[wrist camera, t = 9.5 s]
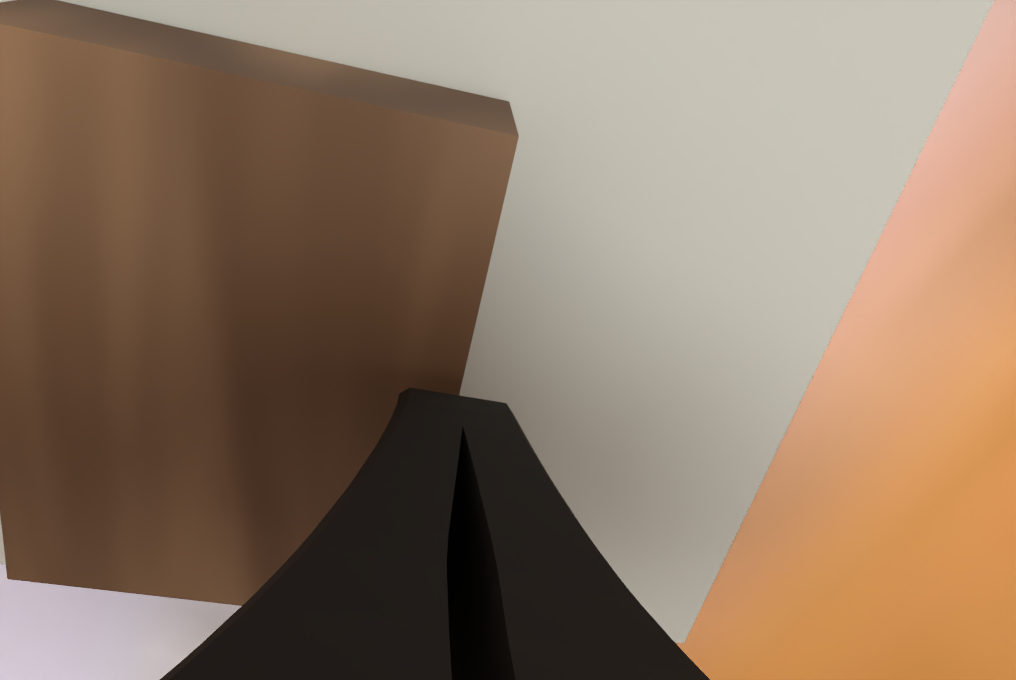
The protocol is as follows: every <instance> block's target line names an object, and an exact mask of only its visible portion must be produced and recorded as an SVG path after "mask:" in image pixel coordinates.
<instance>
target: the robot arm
mask: <svg viewBox="0 0 1016 680" xmlns="http://www.w3.org/2000/svg"><path fill="white" fill-rule="evenodd" d="M160 680H710V679H709V678H708V677H707V676H706V675H705V674H704V673H703V672H702V671H701V670H700V669H699V668H698V667H697V666H696V665H695V664H694V663H693V662H692V661H691V660H690V658H689V657H688V656H687V655H686V654H685V653H684V652H683V651H682V650H681V649H680V648H679V647H678V645H677V644H676V643H675V642H674V641H673V640H672V639H671V638H670V636H669V635H668V634H667V633H666V632H665V631H664V630H663V629H662V627H661V626H660V625H659V624H658V623H657V622H656V621H655V620H654V618H653V617H652V616H651V615H650V614H649V613H648V612H647V610H646V609H645V608H644V607H643V606H642V605H641V604H640V603H639V601H638V600H637V599H636V598H635V596H634V595H633V594H632V593H631V592H630V590H629V589H628V588H627V587H626V585H625V584H624V583H623V582H622V580H621V579H620V578H619V577H618V575H617V574H616V573H615V571H614V570H613V569H612V567H611V566H610V565H609V563H608V562H607V561H606V559H605V558H604V557H603V555H602V554H601V553H600V551H599V550H598V549H597V547H596V546H595V544H594V543H593V542H592V540H591V539H590V537H589V536H588V534H587V533H586V532H585V530H584V529H583V527H582V526H581V524H580V523H579V521H578V520H577V518H576V517H575V515H574V514H573V512H572V511H571V509H570V508H569V506H568V505H567V503H566V502H565V500H564V498H563V497H562V495H561V494H560V492H559V491H558V489H557V488H556V486H555V485H554V483H553V481H552V480H551V478H550V476H549V475H548V473H547V472H546V470H545V468H544V466H543V465H542V463H541V461H540V460H539V458H538V456H537V455H536V453H535V451H534V449H533V448H532V446H531V444H530V443H529V441H528V439H527V437H526V435H525V434H524V432H523V430H522V428H521V427H520V425H519V423H518V421H517V419H516V418H515V416H514V414H513V412H512V411H511V409H510V408H509V406H508V405H507V403H503V402H497V401H490V400H484V399H478V398H472V397H466V396H460V395H453V394H447V393H441V392H435V391H429V390H422V389H416V388H408V389H406V390H405V391H403V392H401V393H400V394H399V397H398V402H397V405H396V407H395V410H394V412H393V415H392V417H391V419H390V421H389V423H388V425H387V427H386V429H385V431H384V432H383V434H382V436H381V438H380V439H379V441H378V443H377V445H376V446H375V448H374V449H373V451H372V452H371V454H370V455H369V457H368V458H367V460H366V461H365V463H364V464H363V466H362V467H361V469H360V470H359V472H358V473H357V475H356V476H355V478H354V479H353V481H352V482H351V483H350V485H349V486H348V488H347V489H346V490H345V492H344V493H343V494H342V495H341V497H340V498H339V499H338V500H337V502H336V503H335V504H334V505H333V507H332V508H331V509H330V510H329V512H328V513H327V514H326V515H325V517H324V518H323V519H322V520H321V522H320V523H319V524H318V525H317V527H316V528H315V529H314V530H313V532H312V533H311V534H310V535H309V536H308V537H307V539H306V540H305V541H304V542H303V543H302V544H301V545H300V546H299V548H298V549H297V550H296V551H295V552H294V553H293V554H292V555H291V557H290V558H289V559H288V560H287V561H286V562H285V563H284V564H283V565H282V566H281V567H280V568H279V569H278V570H277V571H276V573H275V574H274V575H273V576H272V577H271V578H270V579H269V580H268V581H267V582H266V583H265V584H264V585H263V586H262V587H261V588H260V589H259V590H258V591H257V592H256V593H255V594H254V595H253V596H252V597H251V598H250V599H249V600H248V601H247V602H246V603H245V604H244V605H243V606H242V607H240V608H239V609H238V610H237V611H236V612H235V613H234V614H233V615H232V616H231V617H230V618H229V619H228V620H227V621H225V622H224V623H223V624H222V625H221V626H220V627H219V628H218V629H217V630H216V631H215V632H214V633H213V634H212V635H210V636H209V637H208V638H207V639H206V640H205V641H204V642H203V643H202V644H201V645H200V646H198V647H197V648H196V649H195V650H194V651H193V652H192V653H190V654H189V655H188V656H187V657H186V658H185V659H184V660H182V661H181V662H180V663H179V664H178V665H177V666H176V667H174V668H173V669H172V670H171V671H170V672H168V673H167V674H166V675H165V676H164V677H163V678H161V679H160Z"/></svg>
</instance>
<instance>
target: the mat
mask: <svg viewBox="0 0 1016 680" xmlns="http://www.w3.org/2000/svg"><path fill="white" fill-rule="evenodd" d="M7 1H14V0H0V3H1V2H7ZM58 1H63V2H67V3H71V4H76V5H80V6H85V7H89V8H94V9H98V10H103V11H107V12H112V13H116V14H121V15H125V16H129V17H134V18H138V19H143V20H147V21H152V22H156V23H161V24H165V25H170V26H174V27H179V28H183V29H187V30H192V31H196V32H201V33H205V34H210V35H214V36H219V37H223V38H228V39H232V40H237V41H241V42H245V43H250V44H254V45H259V46H263V47H268V48H272V49H277V50H281V51H286V52H290V53H295V54H299V55H303V56H308V57H312V58H317V59H321V60H326V61H330V62H335V63H339V64H344V65H348V66H353V67H357V68H361V69H366V70H370V71H375V72H379V73H384V74H388V75H393V76H397V77H402V78H406V79H411V80H415V81H419V82H424V83H428V84H433V85H437V86H442V87H446V88H451V89H455V90H460V91H464V92H469V93H473V94H477V95H482V96H486V97H491V98H495V99H500V100H504V101H509V102H510V106H511V110H512V113H513V117H514V120H515V124H516V128H517V131H518V135H519V138H518V142H517V147H516V151H515V155H514V160H513V164H512V168H511V173H510V177H509V181H508V186H507V190H506V194H505V199H504V203H503V207H502V212H501V216H500V220H499V225H498V229H497V233H496V238H495V242H494V246H493V251H492V255H491V259H490V264H489V268H488V272H487V277H486V281H485V285H484V290H483V294H482V298H481V303H480V307H479V311H478V316H477V320H476V324H475V329H474V333H473V337H472V342H471V346H470V350H469V355H468V359H467V363H466V368H465V372H464V376H463V381H462V385H461V389H460V394H459V395H460V396H466V397H472V398H478V399H484V400H490V401H497V402H503V403H507V405H508V406H509V408H510V409H511V411H512V412H513V414H514V416H515V418H516V419H517V421H518V423H519V425H520V427H521V428H522V430H523V432H524V434H525V435H526V437H527V439H528V441H529V443H530V444H531V446H532V448H533V449H534V451H535V453H536V455H537V456H538V458H539V460H540V461H541V463H542V465H543V466H544V468H545V470H546V472H547V473H548V475H549V476H550V478H551V480H552V481H553V483H554V485H555V486H556V488H557V489H558V491H559V492H560V494H561V495H562V497H563V498H564V500H565V502H566V503H567V505H568V506H569V508H570V509H571V511H572V512H573V514H574V515H575V517H576V518H577V520H578V521H579V523H580V524H581V526H582V527H583V529H584V530H585V532H586V533H587V534H588V536H589V537H590V539H591V540H592V542H593V543H594V544H595V546H596V547H597V549H598V550H599V551H600V553H601V554H602V555H603V557H604V558H605V559H606V561H607V562H608V563H609V565H610V566H611V567H612V569H613V570H614V571H615V573H616V574H617V575H618V577H619V578H620V579H621V580H622V582H623V583H624V584H625V585H626V587H627V588H628V589H629V590H630V592H631V593H632V594H633V595H634V596H635V598H636V599H637V600H638V601H639V603H640V604H641V605H642V606H643V607H644V608H645V609H646V610H647V612H648V613H649V614H650V615H651V616H652V617H653V618H654V620H655V621H656V622H657V623H658V624H659V625H660V626H661V627H662V629H663V630H664V631H665V632H666V633H667V634H668V635H669V636H670V638H671V639H672V640H673V641H674V642H676V643H684V642H685V640H686V638H687V636H688V634H689V632H690V630H691V628H692V626H693V624H694V622H695V619H696V617H697V615H698V613H699V611H700V609H701V607H702V605H703V603H704V601H705V599H706V597H707V595H708V593H709V590H710V588H711V586H712V584H713V582H714V580H715V578H716V576H717V574H718V572H719V570H720V568H721V566H722V563H723V561H724V559H725V557H726V555H727V553H728V551H729V549H730V547H731V545H732V543H733V541H734V539H735V537H736V534H737V532H738V530H739V528H740V526H741V524H742V522H743V520H744V518H745V516H746V514H747V512H748V510H749V507H750V505H751V503H752V501H753V499H754V497H755V495H756V493H757V491H758V489H759V487H760V485H761V483H762V481H763V478H764V476H765V474H766V472H767V470H768V468H769V466H770V464H771V462H772V460H773V458H774V456H775V454H776V451H777V449H778V447H779V445H780V443H781V441H782V439H783V437H784V435H785V433H786V431H787V429H788V427H789V425H790V422H791V420H792V418H793V416H794V414H795V412H796V410H797V408H798V406H799V404H800V402H801V400H802V398H803V395H804V393H805V391H806V389H807V387H808V385H809V383H810V381H811V379H812V377H813V375H814V373H815V371H816V369H817V366H818V364H819V362H820V360H821V358H822V356H823V354H824V352H825V350H826V348H827V346H828V344H829V342H830V339H831V337H832V335H833V333H834V331H835V329H836V327H837V325H838V323H839V321H840V319H841V317H842V315H843V313H844V310H845V308H846V306H847V304H848V302H849V300H850V298H851V296H852V294H853V292H854V290H855V288H856V286H857V284H858V281H859V279H860V277H861V275H862V273H863V271H864V269H865V267H866V265H867V263H868V261H869V259H870V257H871V254H872V252H873V250H874V248H875V246H876V244H877V242H878V240H879V238H880V236H881V234H882V232H883V230H884V228H885V225H886V223H887V221H888V219H889V217H890V215H891V213H892V211H893V209H894V207H895V205H896V203H897V201H898V198H899V196H900V194H901V192H902V190H903V188H904V186H905V184H906V182H907V180H908V178H909V176H910V174H911V172H912V169H913V167H914V165H915V163H916V161H917V159H918V157H919V155H920V153H921V151H922V149H923V147H924V145H925V142H926V140H927V138H928V136H929V134H930V132H931V130H932V128H933V126H934V124H935V122H936V120H937V118H938V116H939V113H940V111H941V109H942V107H943V105H944V103H945V101H946V99H947V97H948V95H949V93H950V91H951V89H952V86H953V84H954V82H955V80H956V78H957V76H958V74H959V72H960V70H961V68H962V66H963V64H964V62H965V60H966V57H967V55H968V53H969V51H970V49H971V47H972V45H973V43H974V41H975V39H976V37H977V35H978V33H979V30H980V28H981V26H982V24H983V22H984V20H985V18H986V16H987V14H988V12H989V10H990V8H991V6H992V4H993V1H994V0H58ZM0 564H6V560H5V552H4V543H3V534H2V525H1V517H0Z"/></svg>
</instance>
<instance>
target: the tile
mask: <svg viewBox="0 0 1016 680" xmlns="http://www.w3.org/2000/svg"><path fill="white" fill-rule="evenodd" d="M518 138H519V135H518V131H517V128H516V124H515V120H514V117H513V113H512V110H511V106H510V102H509V101H504V100H500V99H495V98H491V97H486V96H482V95H477V94H473V93H469V92H464V91H460V90H455V89H451V88H446V87H442V86H437V85H433V84H428V83H424V82H419V81H415V80H411V79H406V78H402V77H397V76H393V75H388V74H384V73H379V72H375V71H370V70H366V69H361V68H357V67H353V66H348V65H344V64H339V63H335V62H330V61H326V60H321V59H317V58H312V57H308V56H303V55H299V54H295V53H290V52H286V51H281V50H277V49H272V48H268V47H263V46H259V45H254V44H250V43H245V42H241V41H237V40H232V39H228V38H223V37H219V36H214V35H210V34H205V33H201V32H196V31H192V30H187V29H183V28H179V27H174V26H170V25H165V24H161V23H156V22H152V21H147V20H143V19H138V18H134V17H129V16H125V15H121V14H116V13H112V12H107V11H103V10H98V9H94V8H89V7H85V6H80V5H76V4H71V3H67V2H63V1H58V0H14V1H7V2H1V3H0V517H1V525H2V534H3V543H4V552H5V560H6V569H7V578H8V579H12V580H21V581H30V582H39V583H48V584H56V585H65V586H74V587H83V588H92V589H100V590H109V591H118V592H127V593H136V594H144V595H153V596H162V597H171V598H179V599H188V600H197V601H206V602H215V603H223V604H232V605H241V606H243V605H244V604H245V603H246V602H247V601H248V600H249V599H250V598H251V597H252V596H253V595H254V594H255V593H256V592H257V591H258V590H259V589H260V588H261V587H262V586H263V585H264V584H265V583H266V582H267V581H268V580H269V579H270V578H271V577H272V576H273V575H274V574H275V573H276V571H277V570H278V569H279V568H280V567H281V566H282V565H283V564H284V563H285V562H286V561H287V560H288V559H289V558H290V557H291V555H292V554H293V553H294V552H295V551H296V550H297V549H298V548H299V546H300V545H301V544H302V543H303V542H304V541H305V540H306V539H307V537H308V536H309V535H310V534H311V533H312V532H313V530H314V529H315V528H316V527H317V525H318V524H319V523H320V522H321V520H322V519H323V518H324V517H325V515H326V514H327V513H328V512H329V510H330V509H331V508H332V507H333V505H334V504H335V503H336V502H337V500H338V499H339V498H340V497H341V495H342V494H343V493H344V492H345V490H346V489H347V488H348V486H349V485H350V483H351V482H352V481H353V479H354V478H355V476H356V475H357V473H358V472H359V470H360V469H361V467H362V466H363V464H364V463H365V461H366V460H367V458H368V457H369V455H370V454H371V452H372V451H373V449H374V448H375V446H376V445H377V443H378V441H379V439H380V438H381V436H382V434H383V432H384V431H385V429H386V427H387V425H388V423H389V421H390V419H391V417H392V415H393V412H394V410H395V407H396V405H397V402H398V397H399V394H400V393H401V392H403V391H405V390H406V389H408V388H416V389H422V390H429V391H435V392H441V393H447V394H453V395H459V394H460V389H461V385H462V381H463V376H464V372H465V368H466V363H467V359H468V355H469V350H470V346H471V342H472V337H473V333H474V329H475V324H476V320H477V316H478V311H479V307H480V303H481V298H482V294H483V290H484V285H485V281H486V277H487V272H488V268H489V264H490V259H491V255H492V251H493V246H494V242H495V238H496V233H497V229H498V225H499V220H500V216H501V212H502V207H503V203H504V199H505V194H506V190H507V186H508V181H509V177H510V173H511V168H512V164H513V160H514V155H515V151H516V147H517V142H518Z"/></svg>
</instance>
